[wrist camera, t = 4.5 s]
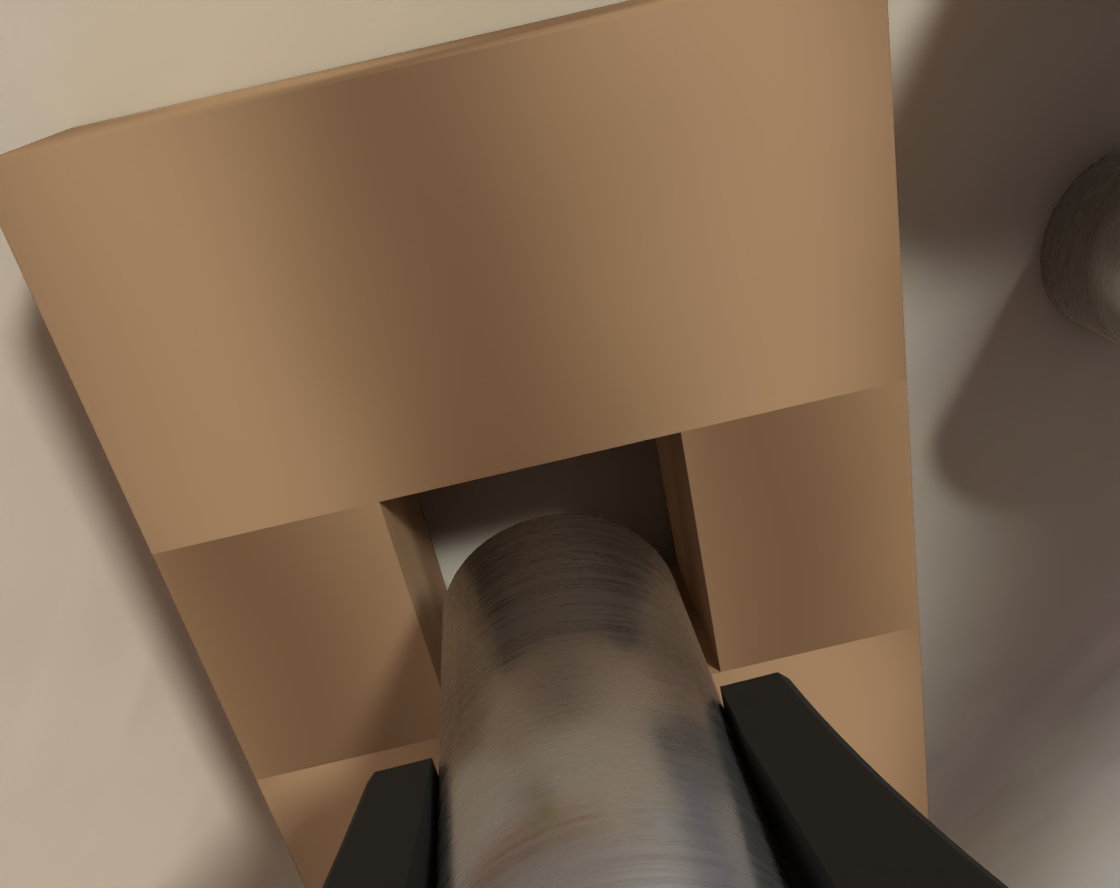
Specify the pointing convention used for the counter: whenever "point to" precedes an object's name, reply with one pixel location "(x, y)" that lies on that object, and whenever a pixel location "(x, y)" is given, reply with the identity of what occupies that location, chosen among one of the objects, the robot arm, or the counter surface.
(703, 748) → the pin tall
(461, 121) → the hole block
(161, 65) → the counter surface
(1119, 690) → the counter surface
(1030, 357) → the counter surface
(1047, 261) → the pin short
